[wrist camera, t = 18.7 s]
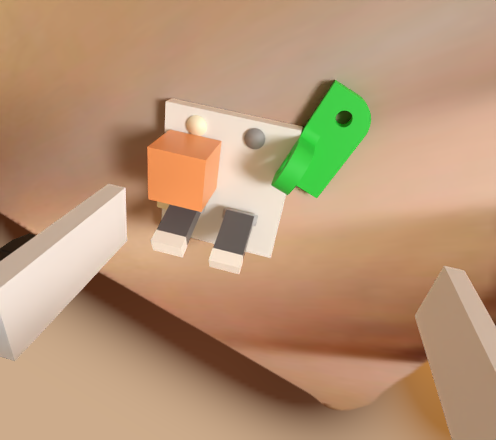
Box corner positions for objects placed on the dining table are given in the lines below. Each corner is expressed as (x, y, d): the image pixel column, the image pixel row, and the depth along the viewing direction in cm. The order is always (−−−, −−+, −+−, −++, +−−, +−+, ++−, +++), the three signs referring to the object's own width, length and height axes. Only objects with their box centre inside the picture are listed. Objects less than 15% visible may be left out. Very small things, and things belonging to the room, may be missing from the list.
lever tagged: (173, 190, 44) (147, 239, 39) (205, 198, 44) (183, 249, 39) (174, 201, 46) (150, 249, 41) (206, 208, 45) (185, 258, 41)
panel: (167, 97, 41) (159, 100, 39) (302, 126, 40) (301, 131, 38) (163, 222, 50) (156, 230, 49) (272, 249, 49) (270, 259, 47)
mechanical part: (317, 191, 44) (315, 221, 37) (277, 167, 43) (267, 193, 36) (380, 109, 38) (392, 127, 31) (335, 79, 37) (336, 91, 30)
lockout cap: (170, 129, 41) (147, 146, 36) (221, 141, 40) (205, 160, 35) (169, 177, 44) (148, 199, 39) (216, 188, 44) (201, 212, 39)
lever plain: (224, 203, 43) (205, 259, 39) (258, 212, 43) (242, 268, 39) (225, 212, 45) (207, 265, 41) (257, 220, 45) (242, 275, 41)
